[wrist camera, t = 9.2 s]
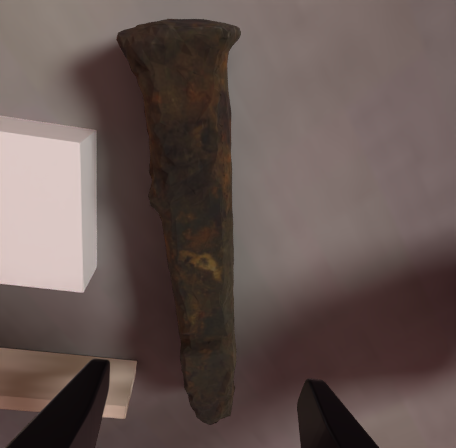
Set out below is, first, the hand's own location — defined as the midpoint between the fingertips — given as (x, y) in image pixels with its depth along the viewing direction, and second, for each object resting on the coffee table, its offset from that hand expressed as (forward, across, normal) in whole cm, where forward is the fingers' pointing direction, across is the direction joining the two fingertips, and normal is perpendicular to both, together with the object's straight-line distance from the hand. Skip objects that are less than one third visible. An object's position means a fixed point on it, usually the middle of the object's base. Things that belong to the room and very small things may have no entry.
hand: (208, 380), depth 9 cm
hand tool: (+10, 0, +1) cm, 10 cm away
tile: (+10, +9, 0) cm, 13 cm away
